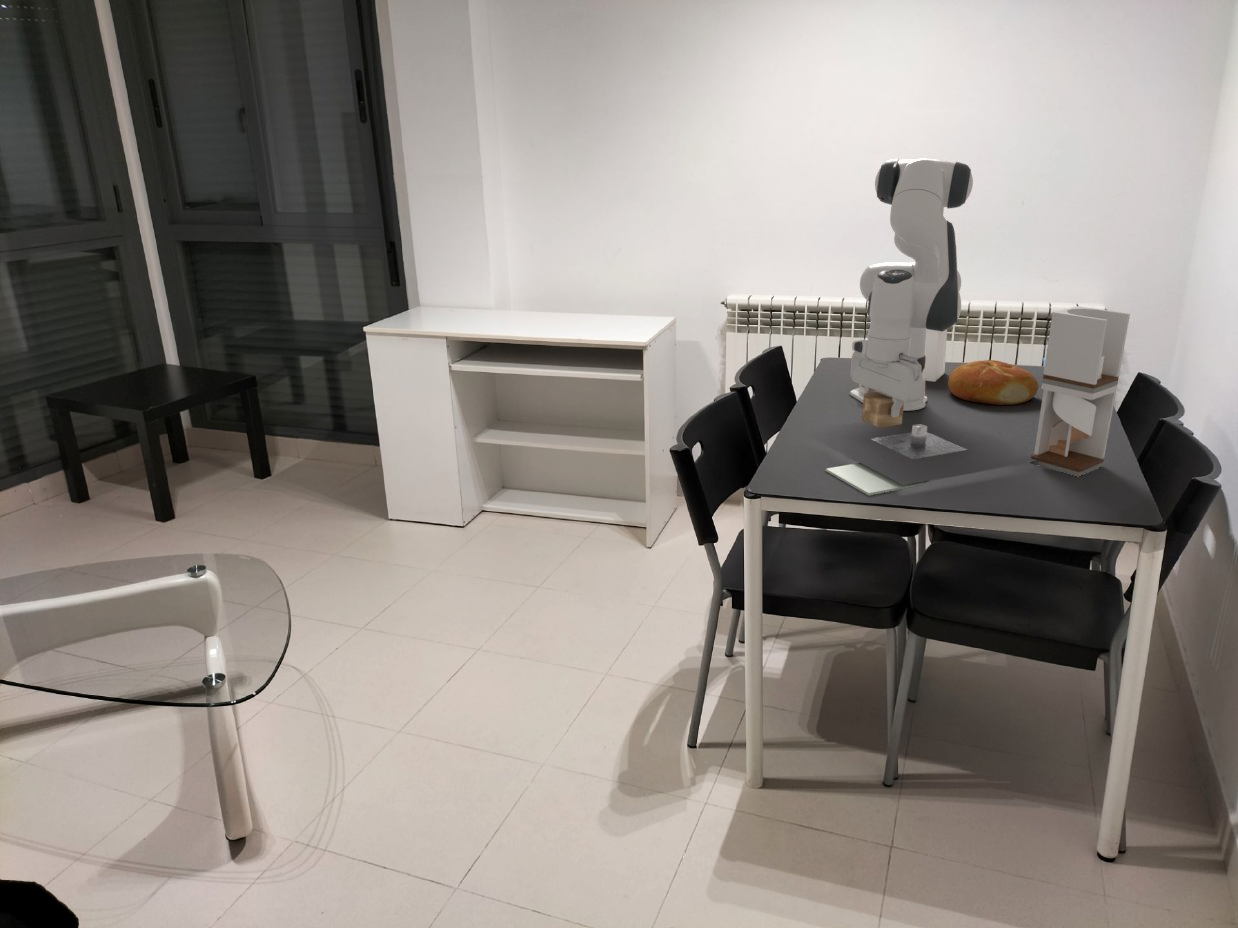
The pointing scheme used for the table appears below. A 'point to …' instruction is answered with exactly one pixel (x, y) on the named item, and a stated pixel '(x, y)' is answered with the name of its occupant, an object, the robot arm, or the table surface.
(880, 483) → the sage mat
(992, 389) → the bread
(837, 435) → the table surface
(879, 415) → the oak block
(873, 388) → the robot arm
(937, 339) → the milk
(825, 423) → the table surface
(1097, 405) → the white tall layered tower
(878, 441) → the post mount
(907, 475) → the table surface
